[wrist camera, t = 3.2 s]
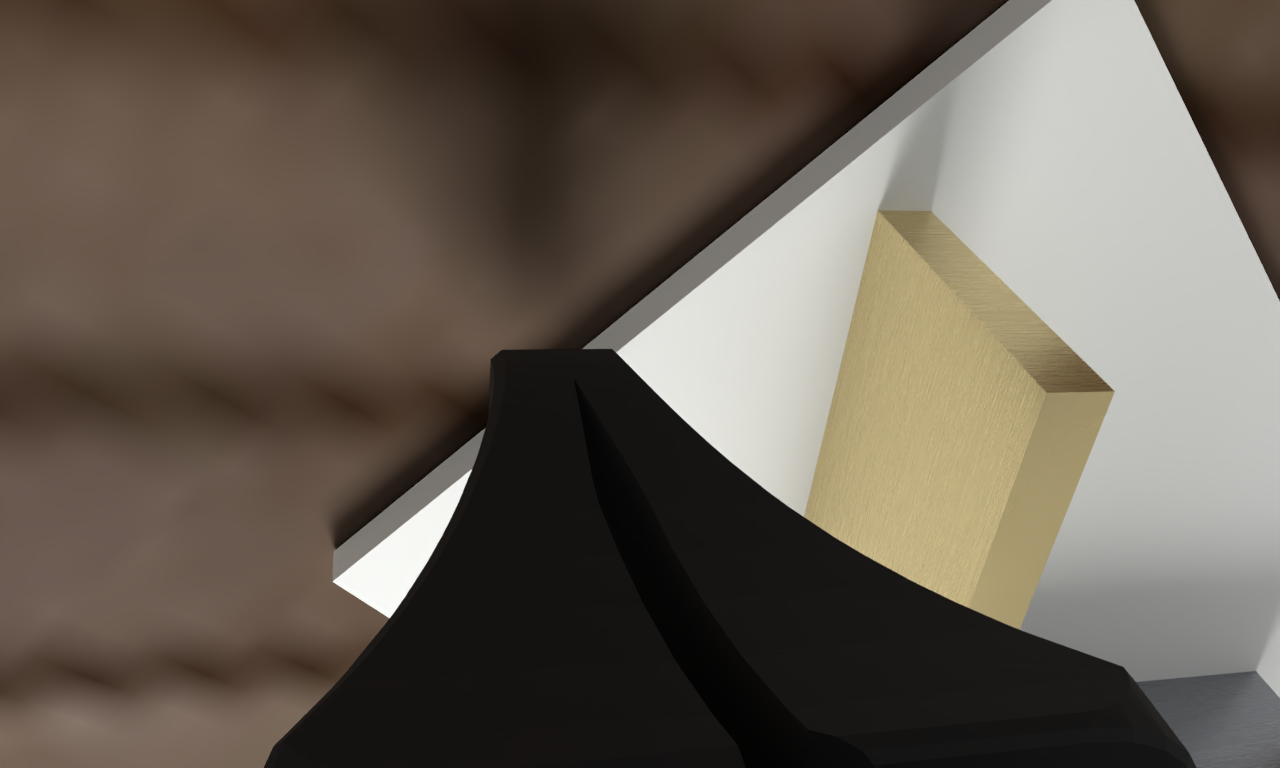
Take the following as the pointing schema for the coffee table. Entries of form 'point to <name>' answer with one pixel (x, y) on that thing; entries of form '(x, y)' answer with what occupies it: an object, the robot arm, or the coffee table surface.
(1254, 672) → the hinge fixed
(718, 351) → the board
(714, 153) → the coffee table surface
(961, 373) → the loose leaf
